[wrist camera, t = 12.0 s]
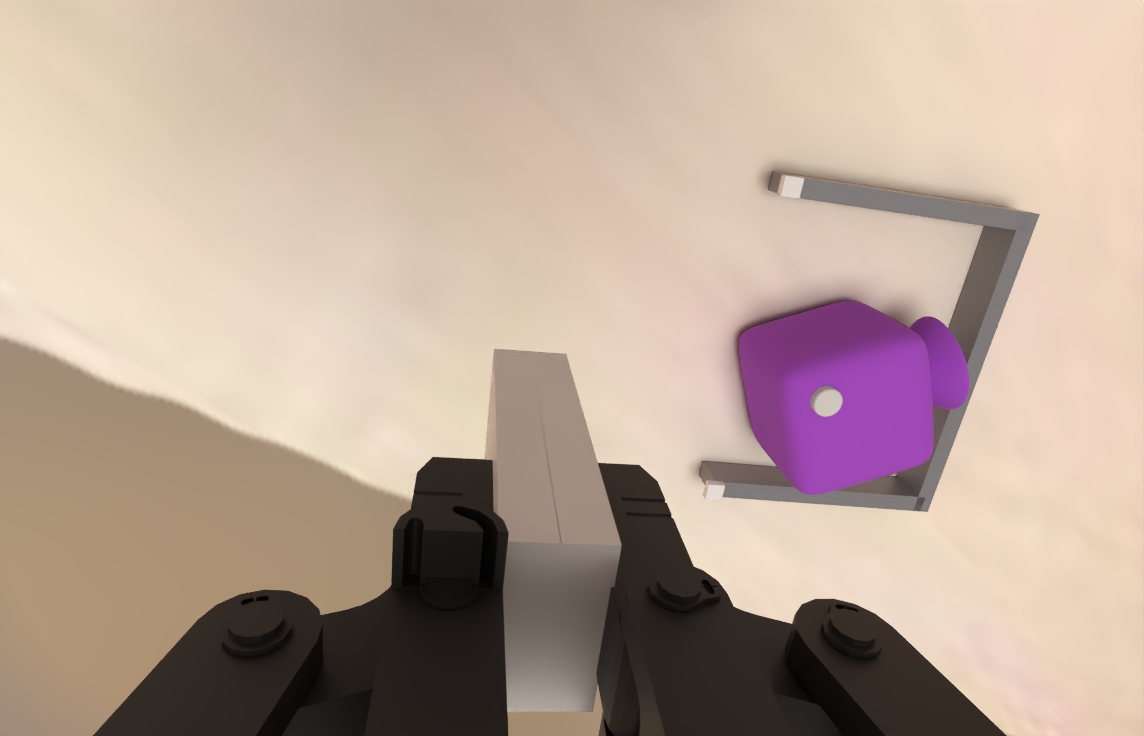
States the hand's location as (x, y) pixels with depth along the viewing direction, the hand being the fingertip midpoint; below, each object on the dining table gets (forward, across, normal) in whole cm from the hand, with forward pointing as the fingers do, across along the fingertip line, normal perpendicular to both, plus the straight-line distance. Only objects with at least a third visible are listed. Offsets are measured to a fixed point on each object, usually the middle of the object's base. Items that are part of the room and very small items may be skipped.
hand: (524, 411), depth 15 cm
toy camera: (+32, +24, -9) cm, 41 cm away
